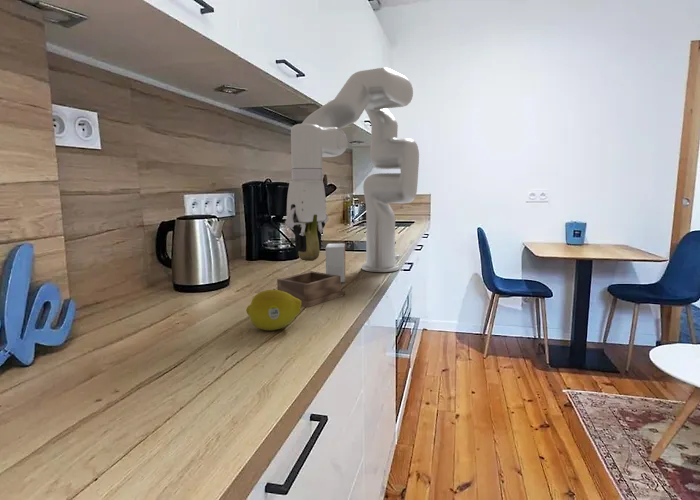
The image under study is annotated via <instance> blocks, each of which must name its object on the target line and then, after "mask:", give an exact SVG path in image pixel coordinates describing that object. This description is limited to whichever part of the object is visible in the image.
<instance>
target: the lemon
mask: <svg viewBox="0 0 700 500" xmlns="http://www.w3.org/2000/svg"><path fill="white" fill-rule="evenodd" d="M250 302H251V303H250V304H249V305H248V306H247V307H246V314H247V315H248V317H249V318H250V321H251V323H252V324H253V326H255V327H256V328H257V329H261V330H263V331H276V330H280V329H282V328H284V327H286V326H288V325H289V324H291V323H292V322H293V321H294V319H295V318H296V317H297V316H298V315H299V314H300V313H301V311H302V310H301V309H302V306H301V300H299V299H298V298H295V297H293V296H292V295H290V294H289V293H287V292H284V291H281V290H278V289H267V290H263V291H260V292H258V293H257V294H255V295H254V296H253V298H252V300H251V301H250Z"/></svg>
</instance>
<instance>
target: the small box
mask: <svg viewBox="0 0 700 500" xmlns="http://www.w3.org/2000/svg"><path fill="white" fill-rule="evenodd" d="M325 273H326V274H332V275H338V276H341V283H345V282H346V243H327V244H326V247H325Z"/></svg>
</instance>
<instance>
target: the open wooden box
mask: <svg viewBox="0 0 700 500" xmlns="http://www.w3.org/2000/svg"><path fill="white" fill-rule="evenodd" d="M276 285H277V290H281V291H284V292H287V293H289V294H290V295H292V296H293V297H295V298H298V299H299V300H301V307H307V308H309V307H312V306H315V305H318V304H321V303H323V302H328V301H329V300H331V301H332V300H334V299H337V298H339V297H343V296H345V295H346V290H342V288H341V286H342V282H341V276H338V275H332V274H326V272H325V273H324V272H318V271H313V270H310V271H306V272H302V273H298V274H293V275H290V276H285V277H282V278H278V279H277V283H276Z"/></svg>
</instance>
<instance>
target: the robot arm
mask: <svg viewBox="0 0 700 500" xmlns="http://www.w3.org/2000/svg"><path fill="white" fill-rule="evenodd" d="M413 96H414V89H413V85H412V83H411V81H410V80H409V78H407V77H406V76H405V75H403V74H401V73H399V72H397V71H395V70H394V69H391V68H389V67H378V68H370V69H363V70H359V71H356V72H354V73H353V74H351V75H350V76H349V78H348V79H347V80H346V82H345V83H344V84H343V86H342V88H340V90H339V92H338V93H337V95H336V96H335V98H333V99H332V100H330V101H328V102H327V103H326V104H324V105H322V106H321V107H319V108H317V109H316V110H315V111H313V112H312V113H310V114H309V115H307V116H306V117H305V119H304V120H303V121H302V123H297V124H294V125H293V126H292V127H291V130H290V148H291V149H290V150H291V153H290V154H291V159H290V160H291V182H289V184H288V189H287V195H286V197H287V198H286V219H285V221H284V223H285V226H286V227H288V228H289V229H290V231H291V232H292V235H293V236H294V243H295V244H294V245H295V248H294V249H295V251H296V252H298V251H300V252H306V236H305V235H304V232H305V226H306V223H307V224H308V223H312V222H313V217H314V215H317V236H318V241H319V250H322V234H323V231H324V228H325V227H326V224H327V223H328V222H329V220H330V219H329V216H328V215H327V199H326V198H327V197H326V189H325V184H324V181H323V179H324V172H323V158H334V157H339V156H341V155H343V153H345V152H346V150H347V148H348V145H349V144H348V142H349V141H348V137H347V135H346V133H345V132H344V130H343V129H344V128H347V127H348V126H351V125H353V124H354V123H356V122H357V121H358V120H359V119H360V117H361V116H362V115H363V113H364V112H366V114H367V116H368V118H369V122H370V125H371V127H370V128H371V131H370V132H371V135H370V136H371V137H370V149H369V150H370V153H369V159H370V160H369V161H370V164H371V167H373V168H374V169H376V170H400V172H397V173H396V172H395V173H394V172H393V173H390V172H386V173H385V172H383V173H382V172H381V173H380V172H379V173H373V174H369V175H368V176H367V177H366V178H365V179H364V181H363V186H362V187H363V196H364V201H365V213H366V214H365V215H366V216H365V217H366V222H365V223H366V227H365V228H366V230H365V231H366V236H365V237H366V242H365V243H366V245H365V247H366V249H365V250H366V253H365V255H366V259H365V260H366V262H365V263H363V264H361V269H362V271H365V272H371V273H390V272H391V273H392V272H396V271H398V270H400V265H399V264H398V263H396V261H399V260H401V255H400V254H395V253H396V248H395V247H396V215H395V212H394V210H393V208H392V206H391V204H410V203H412V202H413V201H414V200H415V199H416V197H417V192H418V180H419V165H420V152H419V146H418V144H417V142H416V141H415V140H414V139H412V138H406V137H405V138H404V137H403V138H398V130H399V129H398V127H399V125H398V122H397V119H396V118H395V116H394V115H393V114H392V113H391V111H390V109H394V108H395V109H396V108H404V107H406V106H408V105H409V104H410V103H411V101H412V100H413ZM299 225H301V226H300V228H299Z"/></svg>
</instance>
